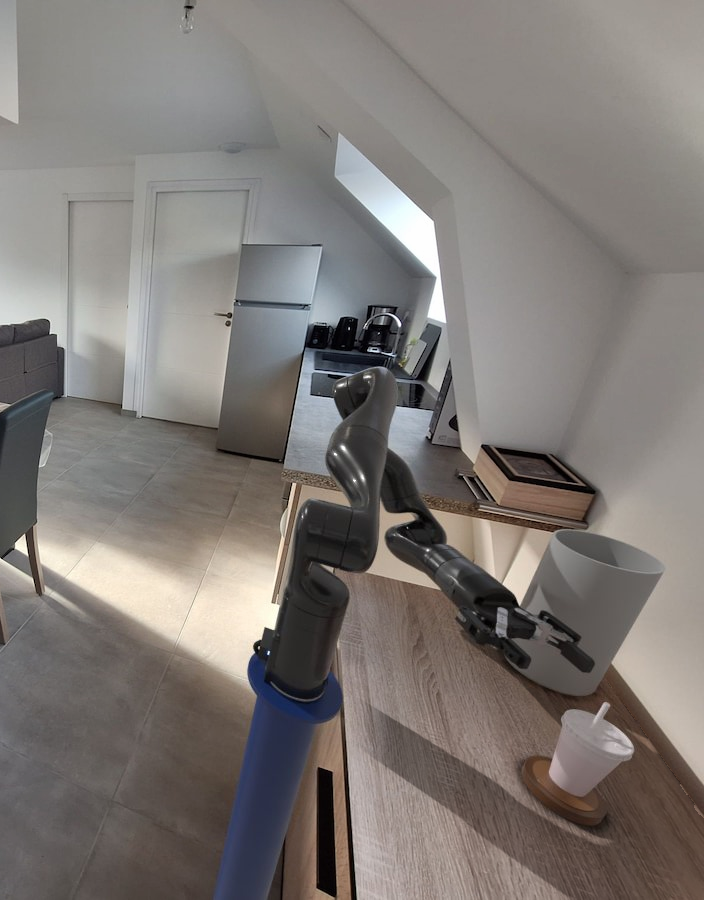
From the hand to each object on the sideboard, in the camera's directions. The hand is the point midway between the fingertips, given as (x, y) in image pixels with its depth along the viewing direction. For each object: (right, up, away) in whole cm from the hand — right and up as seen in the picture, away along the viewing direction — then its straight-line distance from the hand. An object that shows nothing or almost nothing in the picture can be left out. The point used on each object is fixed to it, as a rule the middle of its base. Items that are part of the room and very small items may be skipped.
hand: (558, 666), depth 62 cm
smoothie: (0, -15, -1) cm, 15 cm away
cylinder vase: (+17, -10, +19) cm, 27 cm away
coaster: (-1, -17, -1) cm, 17 cm away
